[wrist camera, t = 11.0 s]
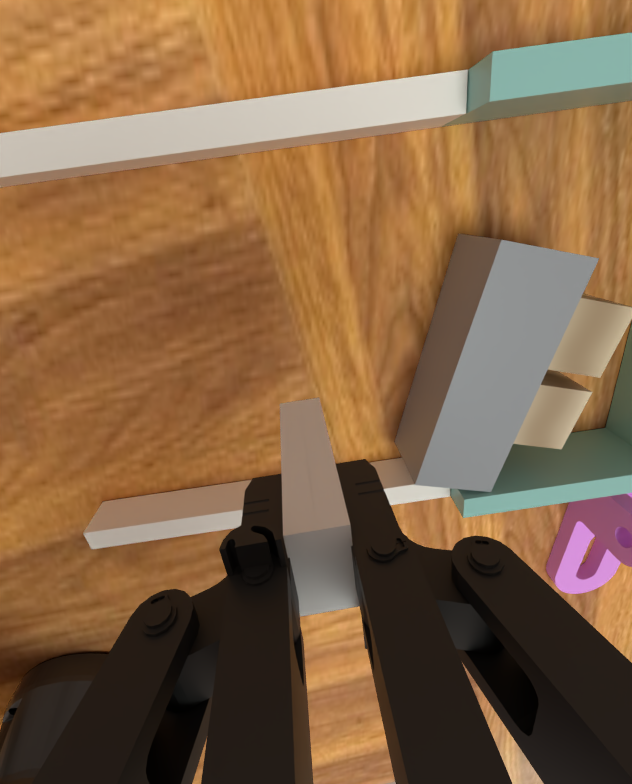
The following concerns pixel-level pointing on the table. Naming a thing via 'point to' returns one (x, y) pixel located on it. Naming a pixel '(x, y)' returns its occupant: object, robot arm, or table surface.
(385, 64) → the table surface
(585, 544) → the bracket
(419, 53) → the table surface
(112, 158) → the channel
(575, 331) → the chip
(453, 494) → the bay
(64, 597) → the table surface
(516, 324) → the block
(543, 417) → the chip
